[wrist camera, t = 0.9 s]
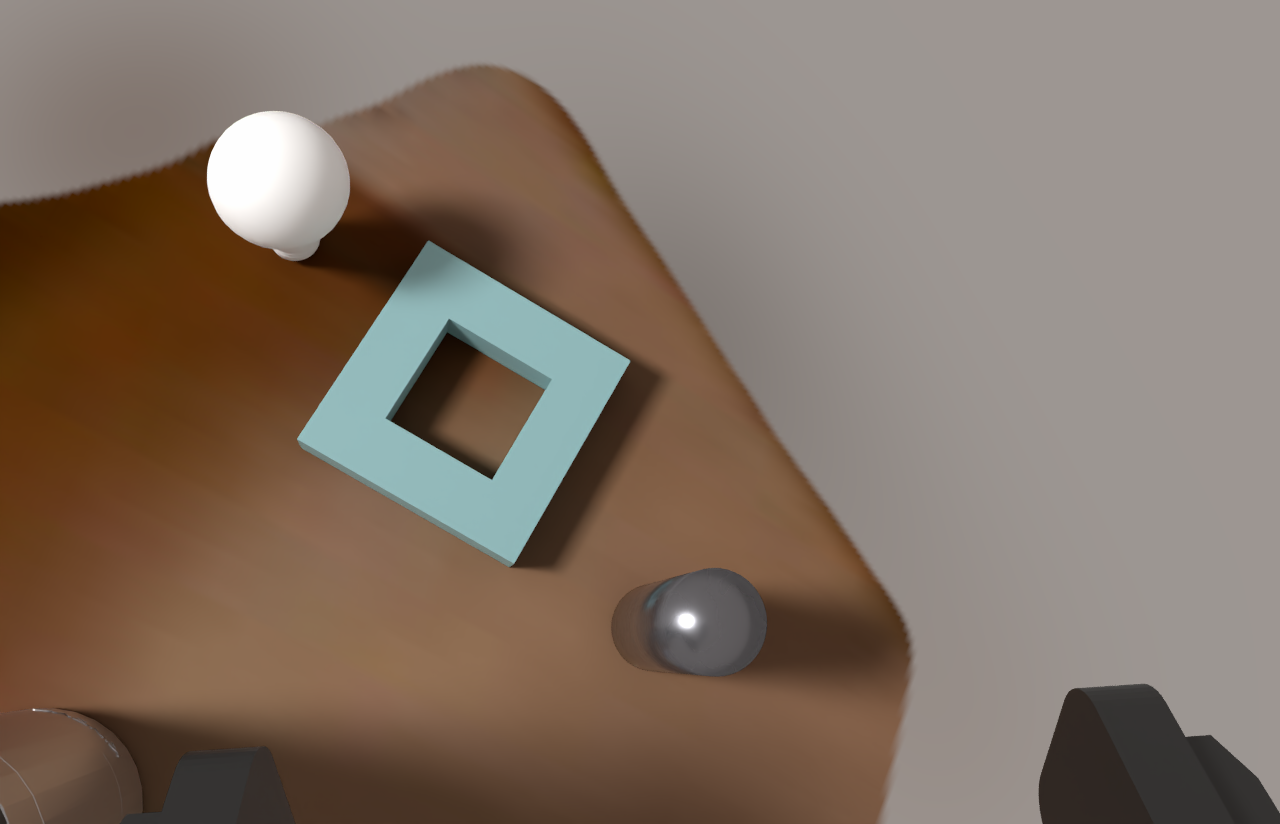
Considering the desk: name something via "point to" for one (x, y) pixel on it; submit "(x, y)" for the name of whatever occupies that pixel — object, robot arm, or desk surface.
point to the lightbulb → (279, 182)
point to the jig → (422, 474)
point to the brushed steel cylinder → (691, 624)
